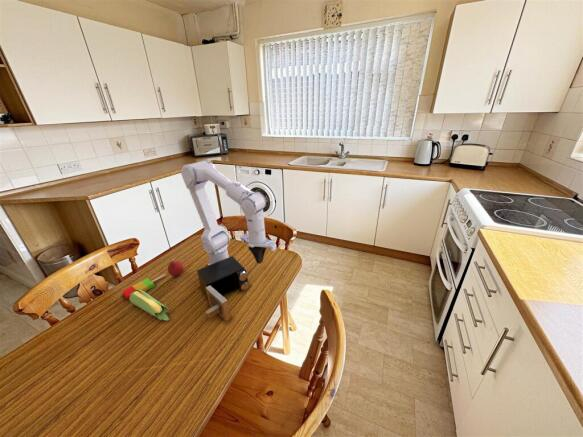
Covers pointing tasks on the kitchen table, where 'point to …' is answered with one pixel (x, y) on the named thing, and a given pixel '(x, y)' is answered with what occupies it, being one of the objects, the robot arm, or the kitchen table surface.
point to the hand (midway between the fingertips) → (259, 261)
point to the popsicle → (141, 286)
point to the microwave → (224, 276)
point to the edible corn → (149, 304)
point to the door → (217, 304)
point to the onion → (175, 268)
